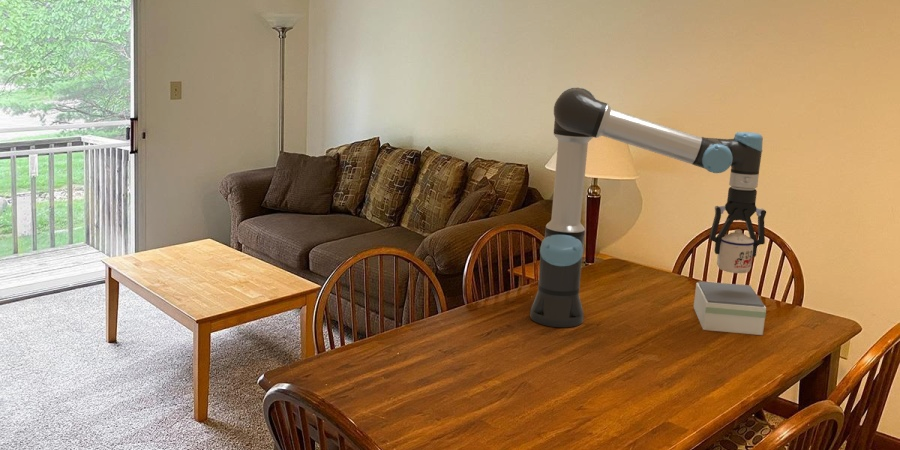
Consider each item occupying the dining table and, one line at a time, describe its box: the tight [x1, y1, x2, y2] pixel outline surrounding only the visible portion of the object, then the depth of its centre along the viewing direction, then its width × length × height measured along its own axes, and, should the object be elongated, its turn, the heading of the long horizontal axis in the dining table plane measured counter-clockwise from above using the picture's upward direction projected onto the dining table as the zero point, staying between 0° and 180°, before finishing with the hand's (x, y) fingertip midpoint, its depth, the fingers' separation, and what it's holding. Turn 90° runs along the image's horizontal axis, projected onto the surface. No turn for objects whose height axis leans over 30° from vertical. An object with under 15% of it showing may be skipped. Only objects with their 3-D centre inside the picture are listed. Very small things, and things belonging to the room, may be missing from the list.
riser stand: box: [693, 280, 767, 336], centre depth 229 cm, size 16×20×9 cm
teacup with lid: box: [717, 229, 754, 274], centre depth 225 cm, size 12×9×12 cm
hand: (733, 266), depth 227 cm, fingers closed on teacup with lid, 7 cm apart
